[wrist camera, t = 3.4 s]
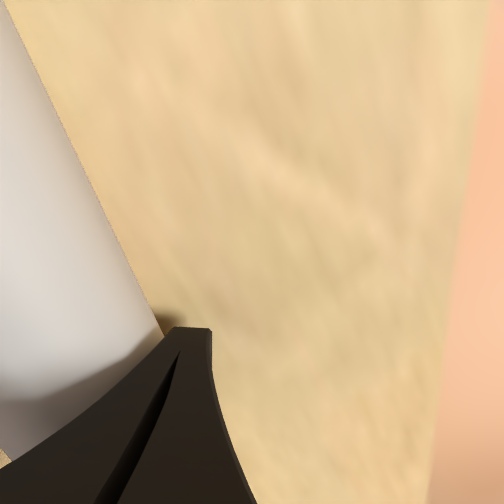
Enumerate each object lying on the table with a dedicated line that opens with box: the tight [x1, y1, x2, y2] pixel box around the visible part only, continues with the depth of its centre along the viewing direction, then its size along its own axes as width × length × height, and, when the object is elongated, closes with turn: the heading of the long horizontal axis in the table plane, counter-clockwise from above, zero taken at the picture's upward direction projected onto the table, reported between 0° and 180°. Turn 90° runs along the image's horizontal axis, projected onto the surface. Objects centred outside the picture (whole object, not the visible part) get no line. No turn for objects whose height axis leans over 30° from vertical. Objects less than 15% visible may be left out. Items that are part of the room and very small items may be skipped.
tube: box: [0, 0, 164, 461], centre depth 9 cm, size 5×5×25 cm
